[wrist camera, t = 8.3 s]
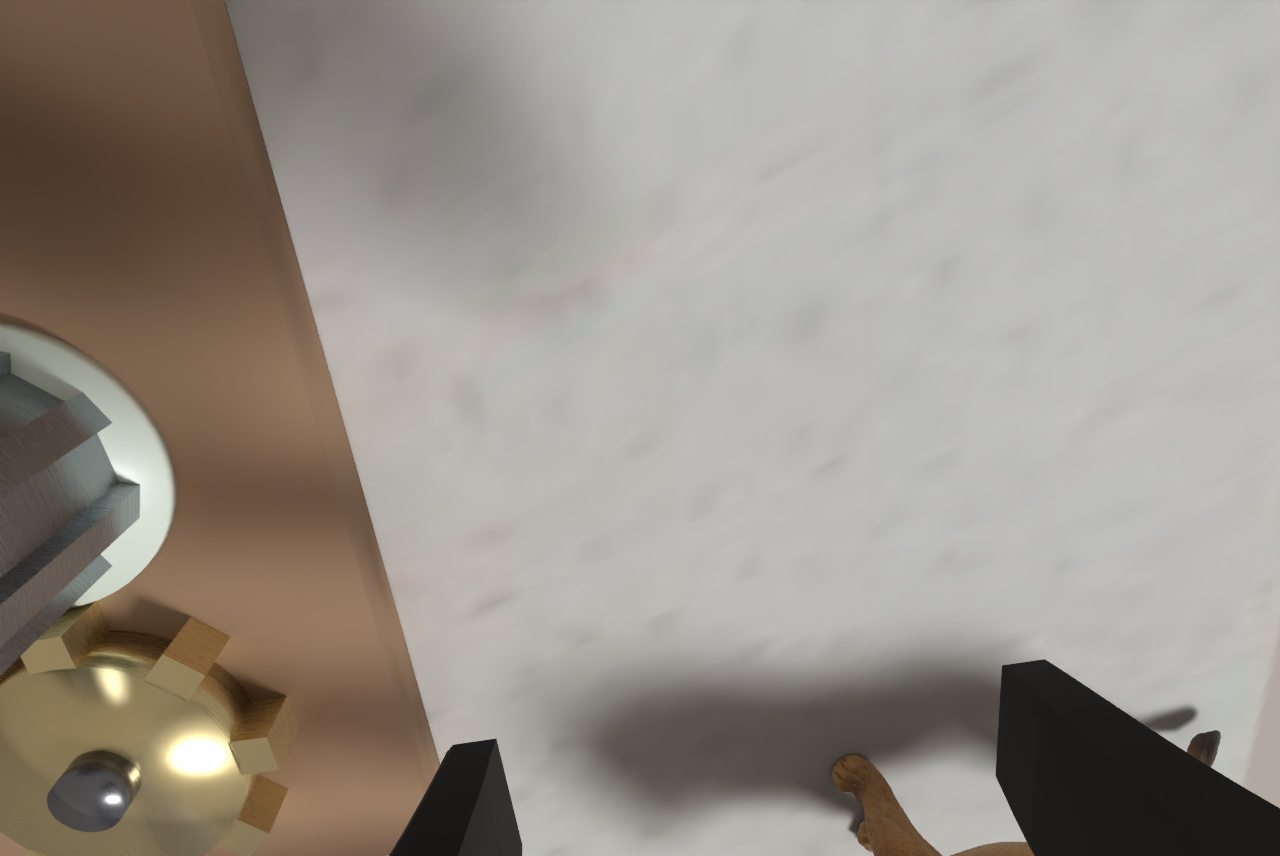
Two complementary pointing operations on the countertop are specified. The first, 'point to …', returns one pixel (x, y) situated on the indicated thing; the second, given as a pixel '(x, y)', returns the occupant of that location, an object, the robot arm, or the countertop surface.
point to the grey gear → (52, 507)
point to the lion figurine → (894, 835)
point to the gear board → (189, 470)
